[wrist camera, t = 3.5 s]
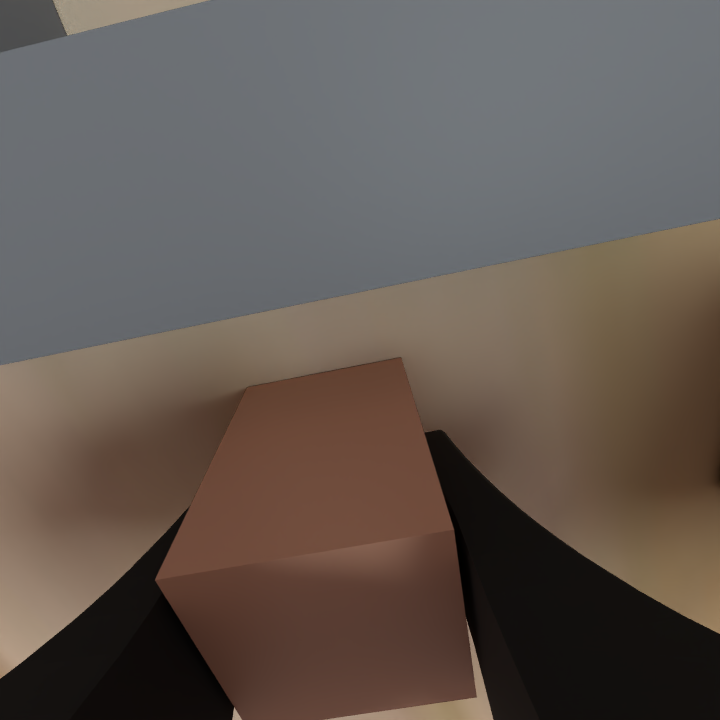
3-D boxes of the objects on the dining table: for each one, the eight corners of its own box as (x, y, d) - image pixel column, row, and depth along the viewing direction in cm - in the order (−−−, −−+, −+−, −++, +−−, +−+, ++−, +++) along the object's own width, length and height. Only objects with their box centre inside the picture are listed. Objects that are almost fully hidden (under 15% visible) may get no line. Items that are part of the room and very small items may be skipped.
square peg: (401, 357, 11) (454, 529, 6) (421, 479, 13) (476, 696, 8) (247, 387, 11) (155, 580, 6) (289, 502, 13) (248, 730, 8)
